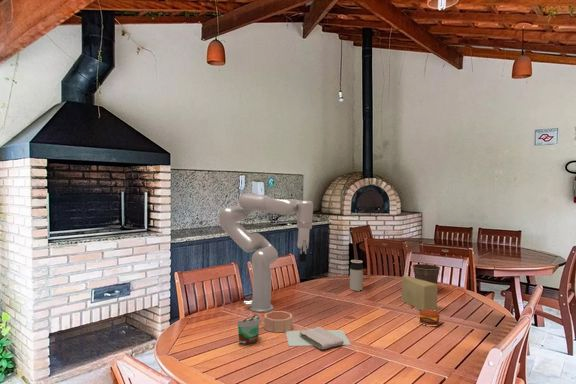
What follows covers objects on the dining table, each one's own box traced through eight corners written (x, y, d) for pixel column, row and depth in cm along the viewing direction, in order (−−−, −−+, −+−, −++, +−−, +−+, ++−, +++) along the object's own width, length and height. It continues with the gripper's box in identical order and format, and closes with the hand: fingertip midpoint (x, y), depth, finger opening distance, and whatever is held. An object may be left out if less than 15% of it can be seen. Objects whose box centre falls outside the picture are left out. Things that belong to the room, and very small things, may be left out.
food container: (248, 349, 160) (249, 324, 160) (236, 345, 164) (237, 321, 163) (266, 338, 171) (266, 315, 171) (254, 335, 174) (255, 312, 174)
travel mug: (362, 291, 246) (363, 262, 246) (349, 290, 248) (350, 261, 247) (362, 288, 254) (363, 260, 253) (349, 287, 255) (350, 259, 255)
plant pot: (409, 288, 257) (410, 263, 256) (436, 289, 255) (436, 264, 254) (414, 295, 241) (415, 268, 240) (442, 296, 238) (443, 269, 238)
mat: (288, 346, 164) (288, 345, 164) (285, 331, 180) (285, 330, 180) (351, 345, 166) (351, 344, 166) (342, 330, 182) (342, 330, 182)
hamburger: (437, 328, 186) (437, 314, 186) (416, 324, 192) (416, 311, 191) (441, 322, 194) (442, 309, 194) (421, 319, 200) (421, 305, 199)
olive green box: (395, 301, 227) (396, 275, 227) (408, 299, 231) (409, 274, 231) (423, 313, 207) (424, 285, 207) (437, 311, 211) (438, 283, 211)
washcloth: (318, 331, 180) (319, 324, 180) (345, 345, 165) (345, 338, 165) (297, 336, 174) (297, 329, 174) (322, 351, 159) (322, 344, 159)
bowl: (264, 333, 177) (264, 320, 177) (263, 322, 190) (263, 311, 190) (293, 332, 178) (293, 320, 178) (290, 322, 191) (291, 310, 191)
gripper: (295, 223, 208) (294, 258, 208) (298, 226, 193) (296, 264, 193) (310, 223, 208) (308, 258, 209) (313, 227, 193) (311, 265, 194)
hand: (302, 261), depth 201 cm, fingers closed
